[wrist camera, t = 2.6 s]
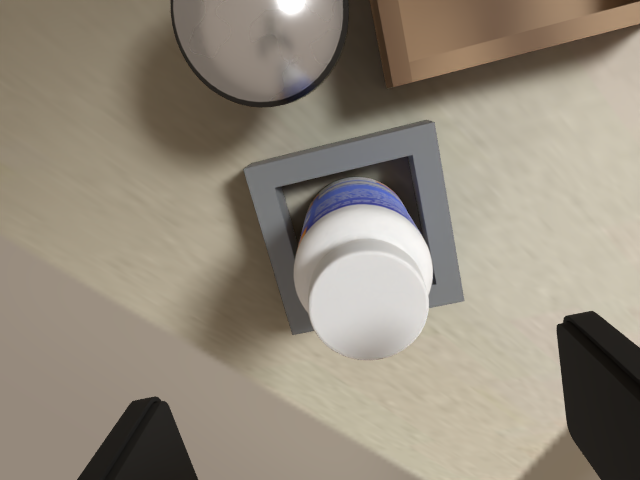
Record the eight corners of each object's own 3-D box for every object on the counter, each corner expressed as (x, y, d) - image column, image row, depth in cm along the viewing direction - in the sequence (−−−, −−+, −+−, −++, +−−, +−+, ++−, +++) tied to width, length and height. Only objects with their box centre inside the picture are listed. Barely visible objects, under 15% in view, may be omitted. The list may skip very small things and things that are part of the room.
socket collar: (426, 119, 22) (434, 122, 20) (455, 285, 25) (464, 301, 23) (251, 163, 23) (243, 169, 21) (296, 317, 26) (292, 335, 24)
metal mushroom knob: (329, -63, 20) (324, -121, 14) (360, 86, 22) (366, 83, 16) (193, -22, 21) (141, -63, 15) (234, 118, 22) (201, 126, 17)
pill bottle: (291, 193, 23) (257, 257, 14) (391, 160, 23) (425, 204, 13) (324, 285, 25) (314, 397, 16) (419, 257, 24) (467, 356, 15)
